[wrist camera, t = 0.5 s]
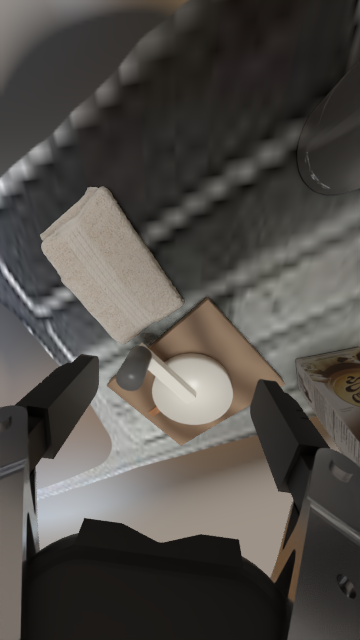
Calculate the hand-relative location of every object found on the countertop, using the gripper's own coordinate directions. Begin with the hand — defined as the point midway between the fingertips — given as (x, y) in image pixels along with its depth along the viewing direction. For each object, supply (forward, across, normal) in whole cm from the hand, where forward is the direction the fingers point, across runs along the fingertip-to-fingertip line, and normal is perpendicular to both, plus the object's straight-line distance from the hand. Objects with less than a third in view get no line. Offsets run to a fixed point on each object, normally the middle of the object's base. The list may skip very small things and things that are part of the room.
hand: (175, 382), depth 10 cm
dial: (+18, -1, +12) cm, 22 cm away
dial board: (+20, -3, +14) cm, 25 cm away
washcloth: (+20, +10, -2) cm, 23 cm away
